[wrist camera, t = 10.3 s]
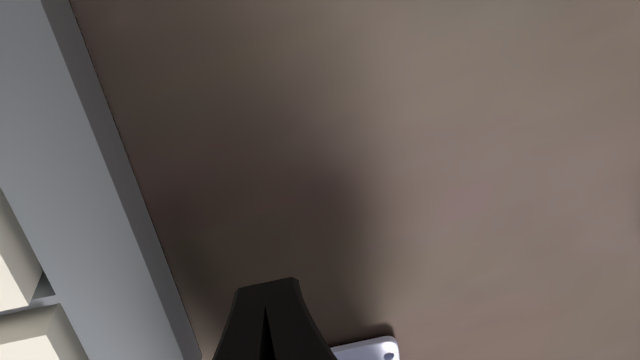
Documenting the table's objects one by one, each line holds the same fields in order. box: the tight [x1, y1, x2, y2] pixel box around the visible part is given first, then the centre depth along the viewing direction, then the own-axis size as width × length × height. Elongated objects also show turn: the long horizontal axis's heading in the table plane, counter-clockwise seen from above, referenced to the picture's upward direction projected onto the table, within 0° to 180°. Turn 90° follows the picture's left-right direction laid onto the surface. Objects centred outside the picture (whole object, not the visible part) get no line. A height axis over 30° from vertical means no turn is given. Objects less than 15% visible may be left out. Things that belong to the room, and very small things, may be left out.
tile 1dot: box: [0, 303, 89, 360], centre depth 25 cm, size 4×6×4 cm, turn 99°
